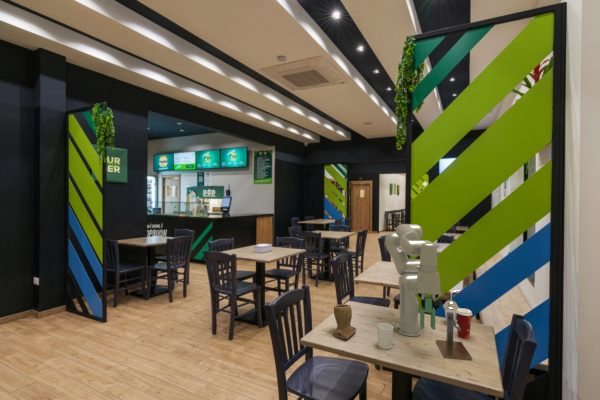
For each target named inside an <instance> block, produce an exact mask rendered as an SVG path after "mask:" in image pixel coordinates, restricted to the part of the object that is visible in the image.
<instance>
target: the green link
mask: <svg viewBox="0 0 600 400" xmlns="http://www.w3.org/2000/svg"><path fill="white" fill-rule="evenodd" d="M424 299H425V308H423V307H422V306H421V305H420V306H419V315H420V316H419V327H420V328H421V329H424V330H425V312H426V313H430V328H431V329H432V330H433V331H435V330H436V309H435V306H434V307H433V309H432V298H431V295H430V296H429V295H428V296H427V295H424Z"/></svg>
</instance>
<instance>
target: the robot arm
mask: <svg viewBox="0 0 600 400" xmlns="http://www.w3.org/2000/svg"><path fill="white" fill-rule="evenodd" d="M422 237H423V228H422V226H420V225H419V224H417V223H416V224H415V223H411V224H410V223H401V224H399V225H397V227H395V232H390V233H387V234H386V235H385V238H384V243H385V247H386V249H387V252H388V253H389V255H390V257H391V258H392V260H393V263H394V266H395V269H396V272H397V274H398V275H399V277H398V289H399V320H398V321H397V322H390V324H391V325H392V326H393V327H394V328H396V332H397V333H398V334H400V335H403V336H407V337H418V336H420V335H421V333H422V330H421V329H420V328H419V299H418V297H419V298H420V306H422V307H423V308H425V299H424V296H426V295H430V297H431V298H432V309H433V307H434V308H435V301H436V300H437V298H439V297H441V296H442V295H443V292H442V290H441V281H440V280H441V279H440V273H439V272H438V265H437V264H438V246H437V244H436V243H434V242H432V241H430V240H427V239H426V240H423V239H422V240H421V238H422ZM408 256H419V259H418V258H409V257H408ZM416 295H417V296H418V297H417V296H416Z"/></svg>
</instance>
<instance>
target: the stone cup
mask: <svg viewBox="0 0 600 400" xmlns="http://www.w3.org/2000/svg"><path fill="white" fill-rule="evenodd" d="M352 311H353V310H352V306H351V305H349V304H345V303H343V304H336V305H334V306H333V315H334V319H335V323H336V328H335V330H334V331H333V332H332V334H333V335H334V337H337V338H338V339H340V338H341V339H342V340H346V339H349V338H350V337H351V336H352V335H353V334H354V333H356V331H357V328H356V327H354V326H352V325H351V323H352V316H353V313H352Z"/></svg>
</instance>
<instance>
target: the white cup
mask: <svg viewBox="0 0 600 400" xmlns="http://www.w3.org/2000/svg"><path fill="white" fill-rule="evenodd" d="M376 330H377V331H376V335H377V337H376V338H377V346H378V348H380V349H382V348H383V349H382V350H390V349H392V348H393V340H394V327H393V326H392V325H391V323H387V322H380V323H377V324H376Z"/></svg>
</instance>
